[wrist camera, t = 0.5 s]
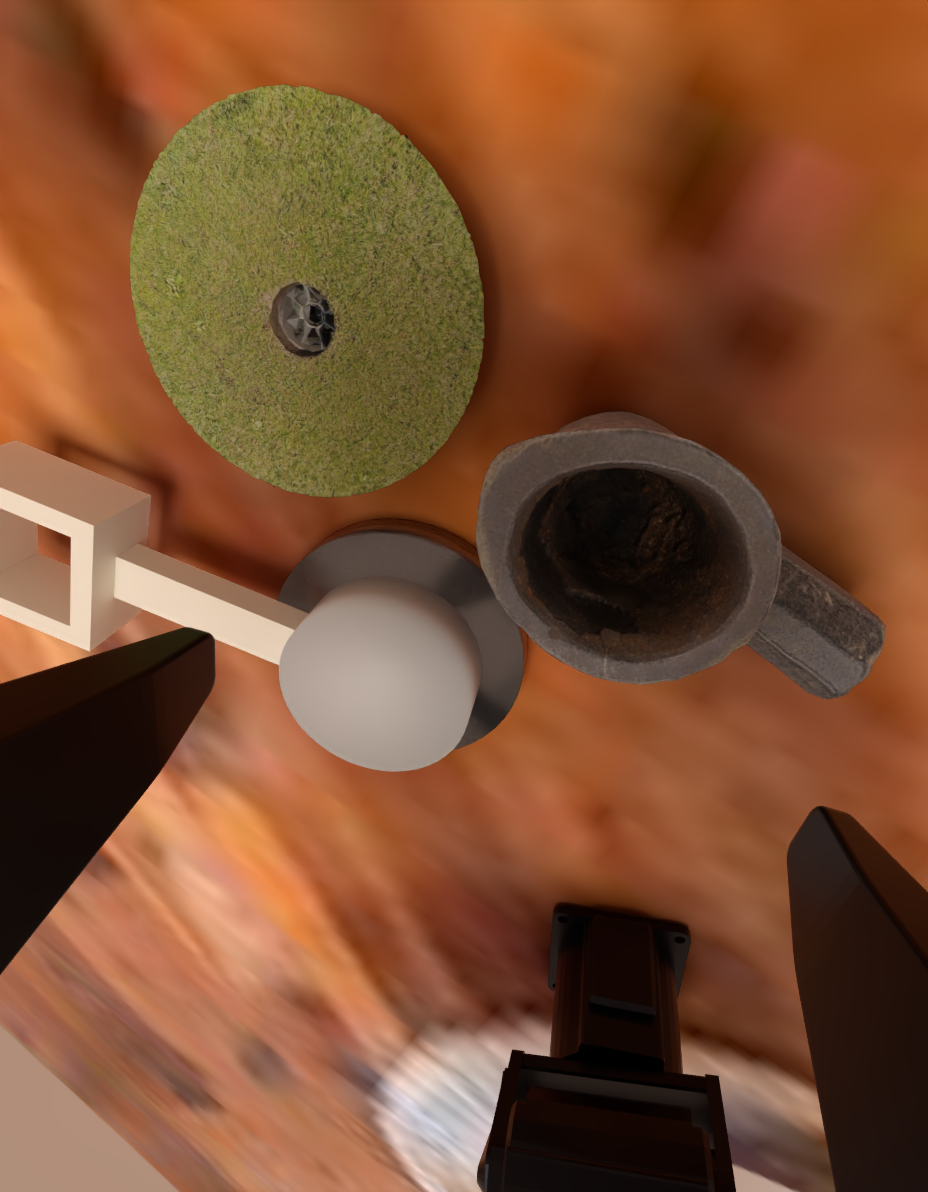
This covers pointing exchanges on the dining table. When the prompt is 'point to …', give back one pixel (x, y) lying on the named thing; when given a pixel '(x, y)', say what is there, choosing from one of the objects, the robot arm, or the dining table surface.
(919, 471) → the dining table surface
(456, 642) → the lever
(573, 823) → the dining table surface
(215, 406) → the mat
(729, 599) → the pipe
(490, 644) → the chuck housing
